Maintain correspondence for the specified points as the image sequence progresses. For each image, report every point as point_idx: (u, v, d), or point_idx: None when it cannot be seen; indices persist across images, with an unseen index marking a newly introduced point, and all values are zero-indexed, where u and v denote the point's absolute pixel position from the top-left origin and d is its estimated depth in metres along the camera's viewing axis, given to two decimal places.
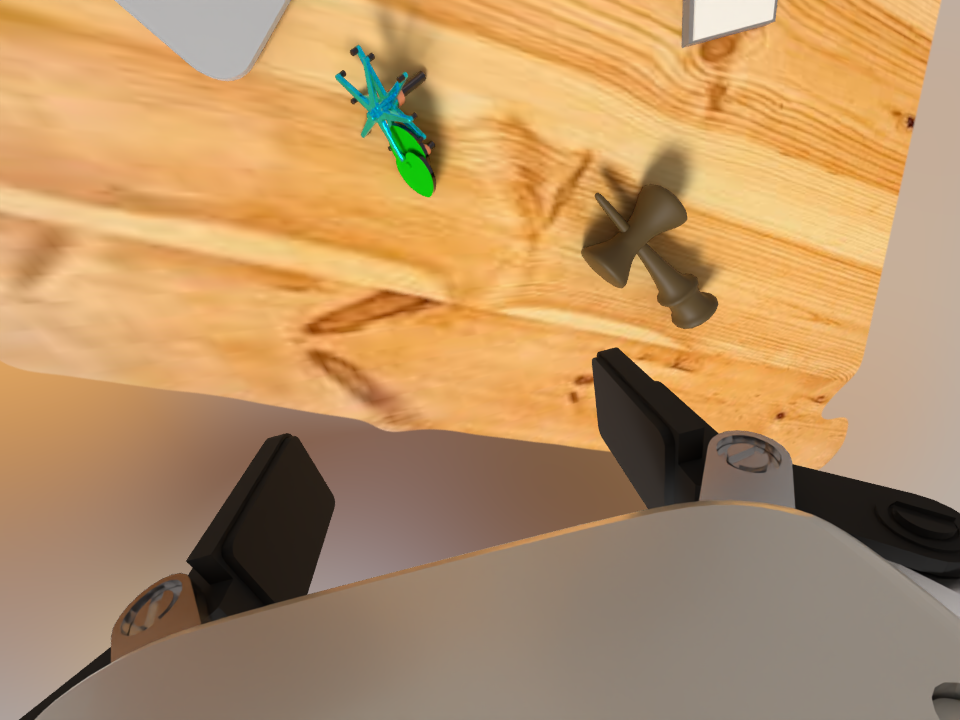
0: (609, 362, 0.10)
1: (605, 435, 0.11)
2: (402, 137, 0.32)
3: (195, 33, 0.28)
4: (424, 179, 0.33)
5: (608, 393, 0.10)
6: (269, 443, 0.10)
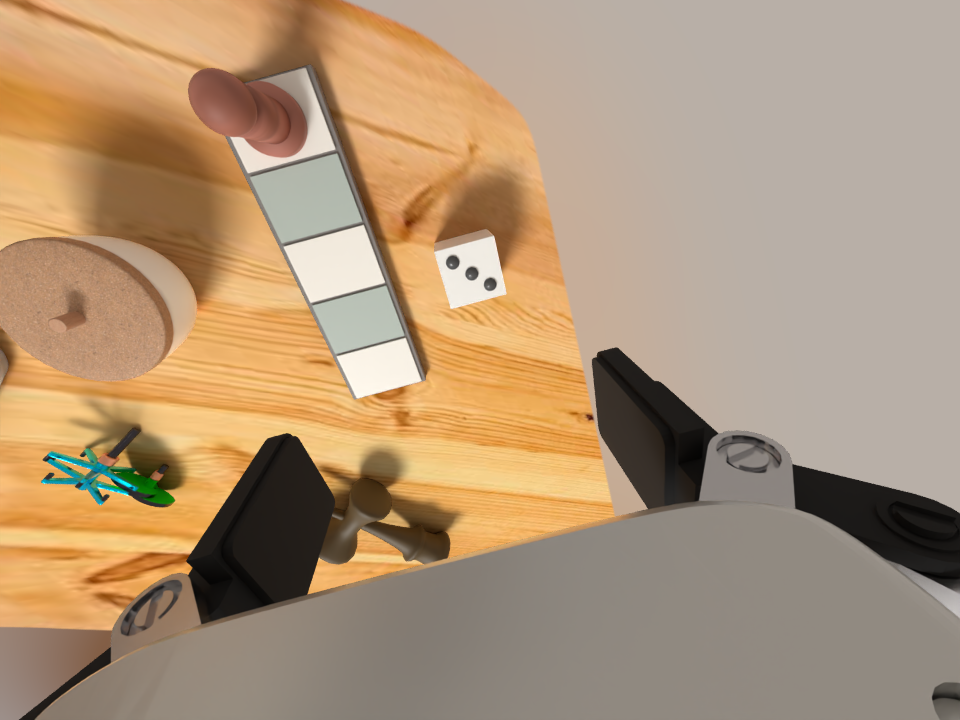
0: (609, 362, 0.10)
1: (605, 435, 0.11)
2: None
3: None
4: None
5: (608, 393, 0.10)
6: (269, 443, 0.10)
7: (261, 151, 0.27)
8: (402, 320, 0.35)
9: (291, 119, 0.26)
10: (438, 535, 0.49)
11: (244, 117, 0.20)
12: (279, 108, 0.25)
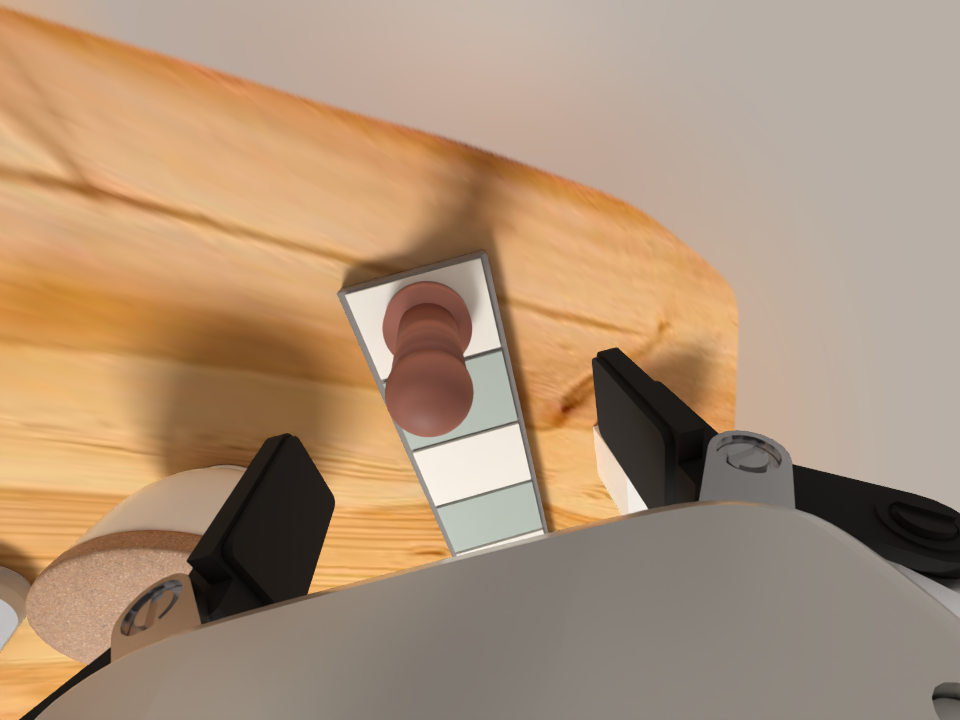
0: (609, 362, 0.10)
1: (605, 435, 0.11)
2: None
3: None
4: None
5: (608, 393, 0.10)
6: (269, 443, 0.10)
7: None
8: (542, 512, 0.28)
9: (459, 328, 0.19)
10: None
11: (465, 417, 0.13)
12: (457, 330, 0.17)
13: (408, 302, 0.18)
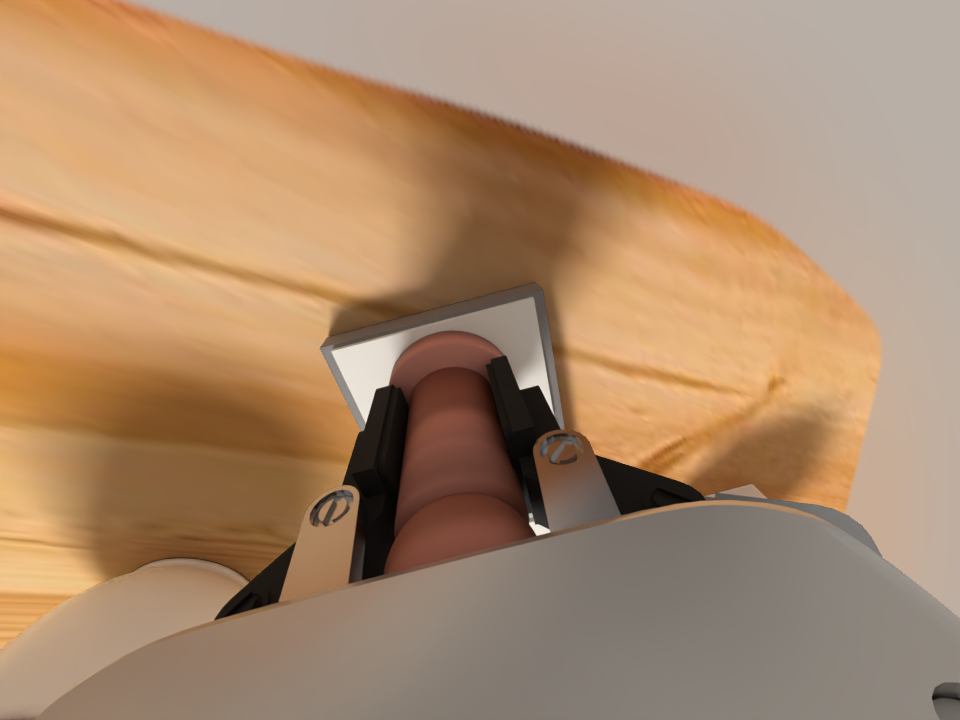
0: (494, 368, 0.11)
1: None
2: None
3: None
4: None
5: None
6: (380, 391, 0.11)
7: None
8: None
9: None
10: None
11: None
12: None
13: (426, 366, 0.12)
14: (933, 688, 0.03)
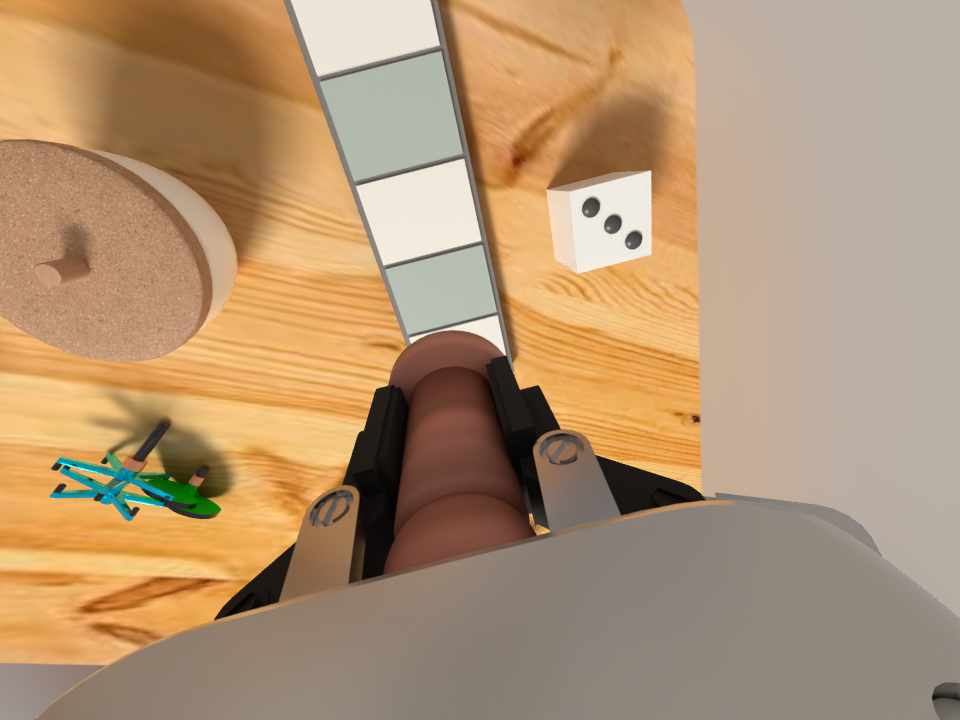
0: (493, 368, 0.11)
1: None
2: None
3: None
4: None
5: None
6: (380, 392, 0.11)
7: None
8: (496, 292, 0.27)
9: None
10: None
11: None
12: None
13: (426, 366, 0.12)
14: (933, 688, 0.03)
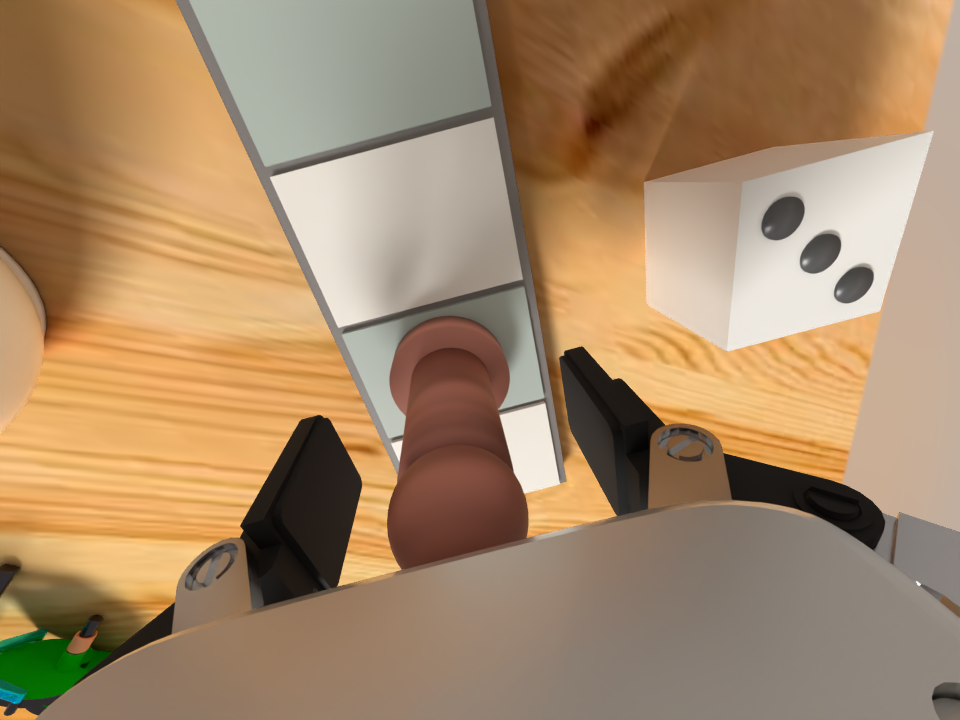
0: (573, 360, 0.10)
1: (573, 431, 0.12)
2: None
3: None
4: None
5: (572, 390, 0.10)
6: (303, 423, 0.10)
7: None
8: (544, 365, 0.15)
9: (492, 380, 0.14)
10: None
11: None
12: (492, 388, 0.12)
13: (425, 347, 0.13)
14: (933, 688, 0.03)
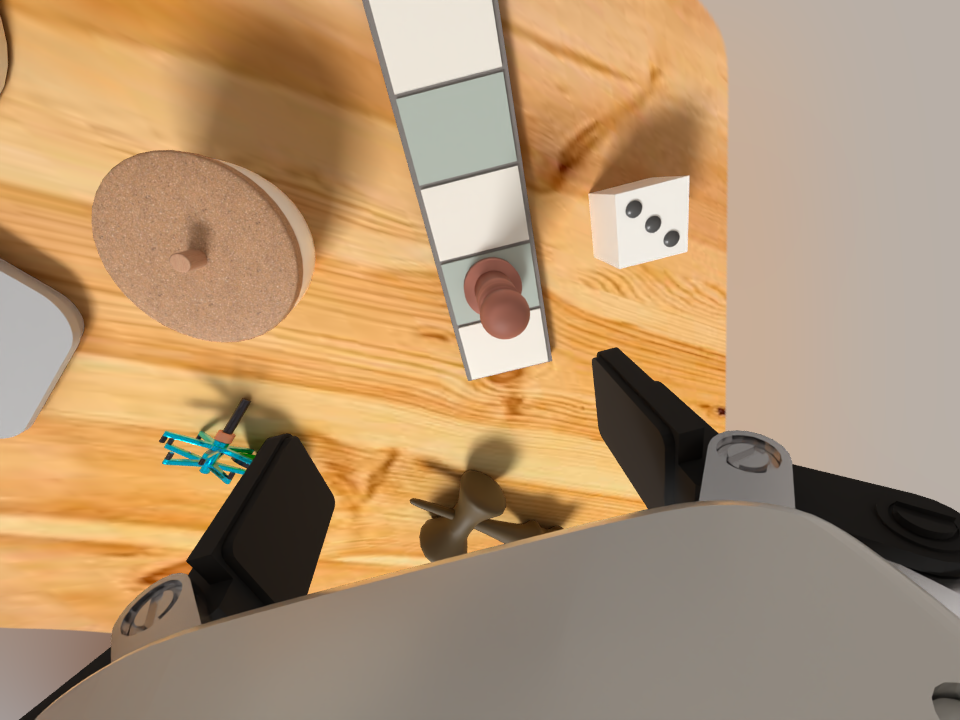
0: (609, 362, 0.10)
1: (605, 435, 0.11)
2: None
3: None
4: None
5: (608, 393, 0.10)
6: (269, 443, 0.10)
7: (480, 313, 0.29)
8: (539, 287, 0.30)
9: None
10: (553, 530, 0.43)
11: (525, 328, 0.23)
12: None
13: (483, 269, 0.27)
14: (933, 688, 0.03)
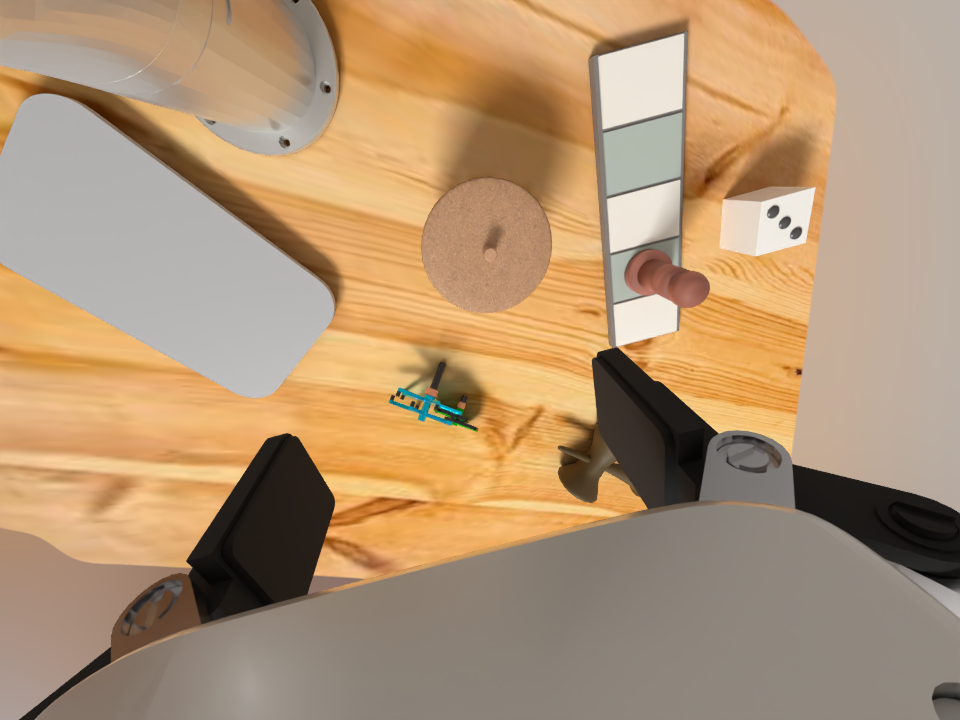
0: (609, 362, 0.10)
1: (605, 435, 0.11)
2: (445, 414, 0.42)
3: (238, 375, 0.38)
4: None
5: (608, 393, 0.10)
6: (269, 443, 0.10)
7: (638, 292, 0.38)
8: None
9: None
10: None
11: None
12: None
13: (646, 258, 0.36)
14: (933, 688, 0.03)
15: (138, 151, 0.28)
